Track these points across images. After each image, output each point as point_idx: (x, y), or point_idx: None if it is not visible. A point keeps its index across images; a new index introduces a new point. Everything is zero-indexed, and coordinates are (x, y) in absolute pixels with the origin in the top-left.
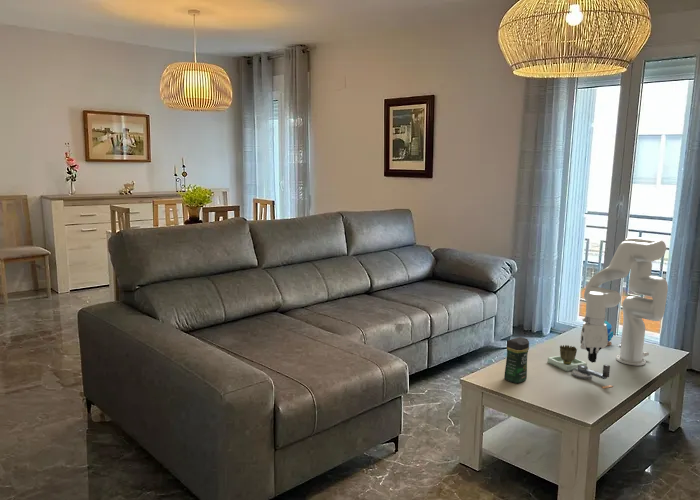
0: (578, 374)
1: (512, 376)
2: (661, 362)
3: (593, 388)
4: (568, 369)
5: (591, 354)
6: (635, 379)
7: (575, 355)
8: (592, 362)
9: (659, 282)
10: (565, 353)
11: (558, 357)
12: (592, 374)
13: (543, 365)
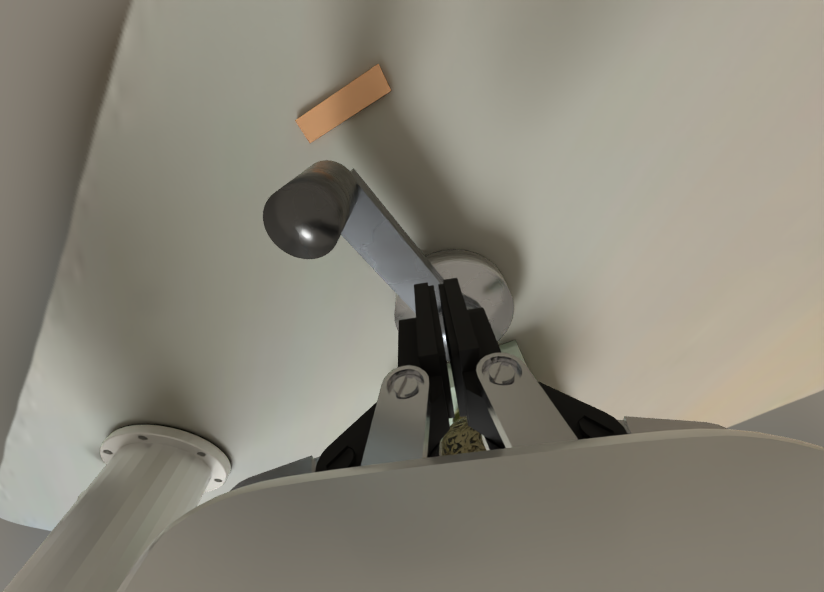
0: (498, 274)
1: None
2: (46, 456)
3: (469, 57)
4: (506, 351)
5: (480, 356)
6: (135, 277)
7: (447, 451)
8: (450, 279)
9: None
10: None
11: None
12: (418, 249)
13: (593, 393)
